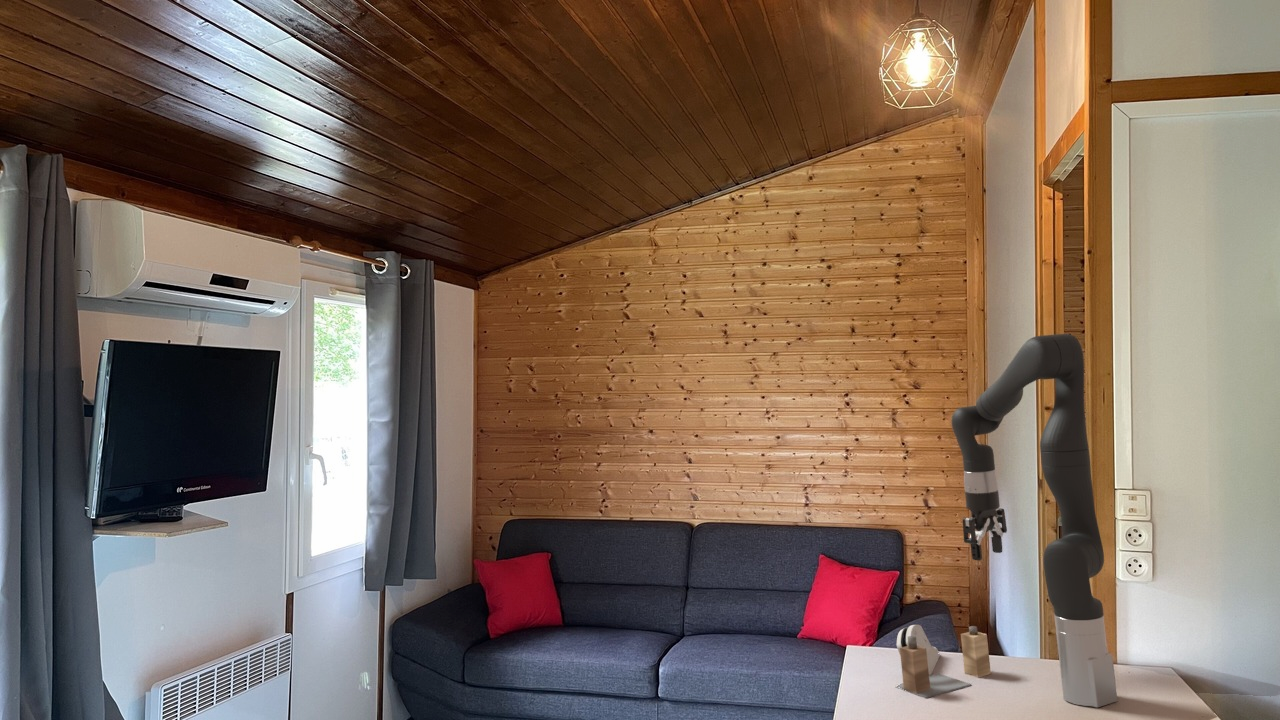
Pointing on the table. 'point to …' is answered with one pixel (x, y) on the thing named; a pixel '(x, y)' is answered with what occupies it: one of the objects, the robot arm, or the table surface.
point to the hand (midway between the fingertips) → (987, 556)
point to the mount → (923, 673)
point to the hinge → (918, 643)
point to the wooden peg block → (975, 653)
